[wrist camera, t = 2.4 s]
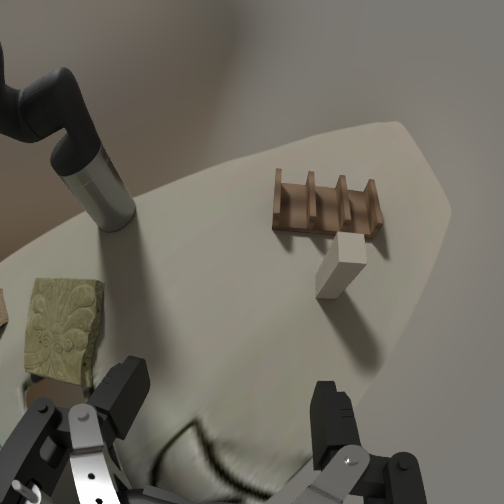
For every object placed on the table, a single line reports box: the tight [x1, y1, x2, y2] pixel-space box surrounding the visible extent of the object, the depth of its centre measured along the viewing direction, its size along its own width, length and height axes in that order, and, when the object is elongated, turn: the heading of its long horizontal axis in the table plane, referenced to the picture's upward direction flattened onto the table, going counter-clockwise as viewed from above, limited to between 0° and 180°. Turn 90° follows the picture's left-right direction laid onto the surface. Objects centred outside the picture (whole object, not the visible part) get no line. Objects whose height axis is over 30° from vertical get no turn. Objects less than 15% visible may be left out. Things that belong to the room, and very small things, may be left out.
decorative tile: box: [24, 278, 104, 387], centre depth 39 cm, size 19×20×4 cm
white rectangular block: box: [316, 232, 367, 299], centre depth 37 cm, size 4×4×14 cm
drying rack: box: [272, 169, 383, 238], centre depth 48 cm, size 10×19×5 cm, turn 85°
